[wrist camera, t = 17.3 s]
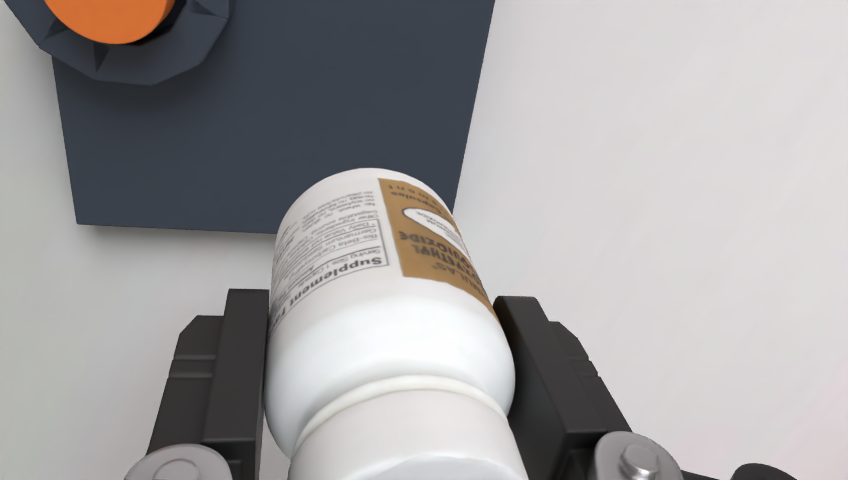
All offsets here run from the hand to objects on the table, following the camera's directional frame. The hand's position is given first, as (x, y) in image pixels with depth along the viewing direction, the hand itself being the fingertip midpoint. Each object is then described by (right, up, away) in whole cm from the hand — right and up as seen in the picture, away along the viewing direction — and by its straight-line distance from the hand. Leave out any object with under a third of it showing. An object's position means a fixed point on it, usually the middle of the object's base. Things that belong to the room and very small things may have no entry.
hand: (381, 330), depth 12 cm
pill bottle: (-1, +2, +3) cm, 4 cm away
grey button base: (-4, +8, +10) cm, 13 cm away
